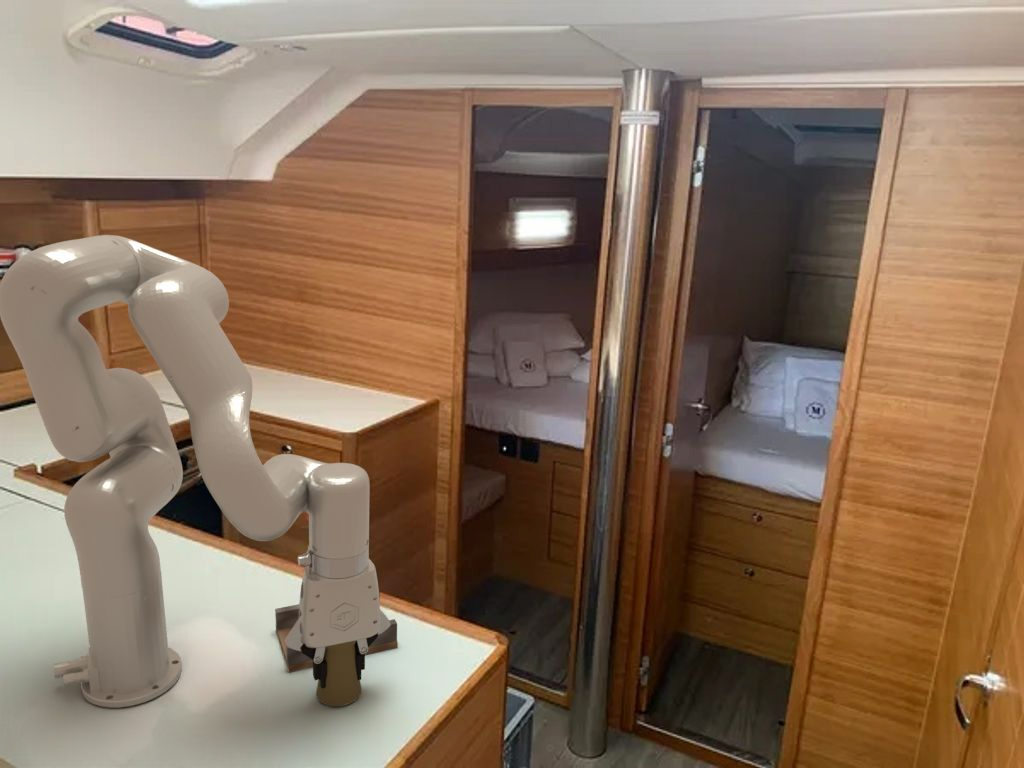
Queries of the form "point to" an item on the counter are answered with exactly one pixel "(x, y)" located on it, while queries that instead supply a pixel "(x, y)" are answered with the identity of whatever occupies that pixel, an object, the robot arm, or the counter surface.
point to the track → (295, 658)
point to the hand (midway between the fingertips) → (339, 676)
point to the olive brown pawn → (340, 676)
